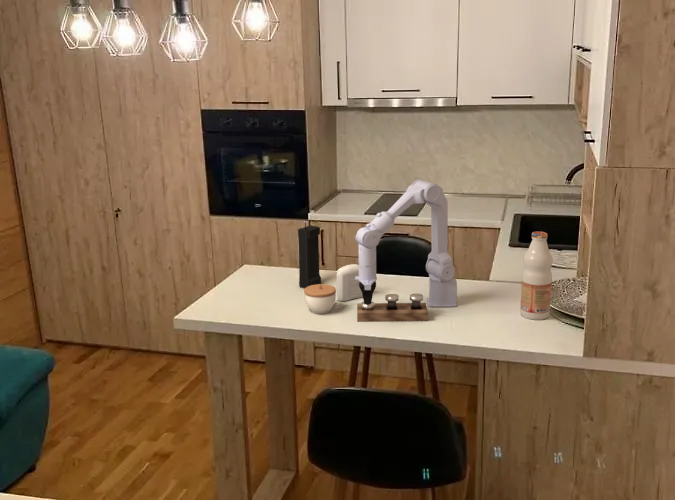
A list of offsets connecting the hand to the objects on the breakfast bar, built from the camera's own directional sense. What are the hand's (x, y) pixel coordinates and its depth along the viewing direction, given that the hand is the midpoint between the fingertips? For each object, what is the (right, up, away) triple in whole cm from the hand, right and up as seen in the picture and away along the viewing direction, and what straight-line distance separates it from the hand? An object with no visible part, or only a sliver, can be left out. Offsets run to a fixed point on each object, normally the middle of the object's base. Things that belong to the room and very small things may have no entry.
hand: (367, 303), depth 239 cm
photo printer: (-5, 0, +19) cm, 20 cm away
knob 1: (0, -4, +1) cm, 4 cm away
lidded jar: (-16, -3, +8) cm, 18 cm away
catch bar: (+8, -4, +1) cm, 9 cm away
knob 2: (+16, -1, 0) cm, 16 cm away
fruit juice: (+55, -4, 0) cm, 55 cm away
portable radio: (-20, +4, +33) cm, 39 cm away
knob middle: (+8, -2, 0) cm, 8 cm away
